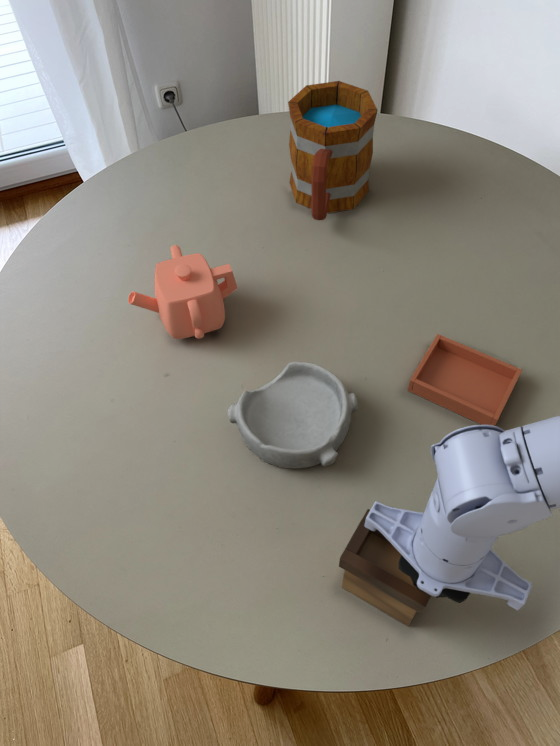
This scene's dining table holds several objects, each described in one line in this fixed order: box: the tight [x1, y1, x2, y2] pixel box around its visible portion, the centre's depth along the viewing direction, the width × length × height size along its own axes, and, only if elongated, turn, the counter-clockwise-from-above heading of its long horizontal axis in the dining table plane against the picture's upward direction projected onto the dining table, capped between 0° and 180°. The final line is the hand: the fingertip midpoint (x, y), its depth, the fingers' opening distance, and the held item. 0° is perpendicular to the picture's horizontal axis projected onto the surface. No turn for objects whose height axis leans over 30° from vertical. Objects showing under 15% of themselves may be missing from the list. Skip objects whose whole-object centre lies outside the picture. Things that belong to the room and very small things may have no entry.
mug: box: [287, 80, 378, 221], centre depth 102 cm, size 20×14×15 cm
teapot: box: [127, 244, 239, 340], centre depth 90 cm, size 12×12×10 cm
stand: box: [341, 533, 419, 627], centre depth 68 cm, size 8×5×8 cm, turn 59°
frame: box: [338, 508, 432, 615], centre depth 64 cm, size 9×6×2 cm, turn 59°
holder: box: [407, 333, 523, 426], centre depth 85 cm, size 12×9×2 cm
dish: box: [227, 361, 358, 469], centre depth 81 cm, size 14×14×5 cm
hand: (429, 583), depth 63 cm, fingers closed on frame, 1 cm apart
